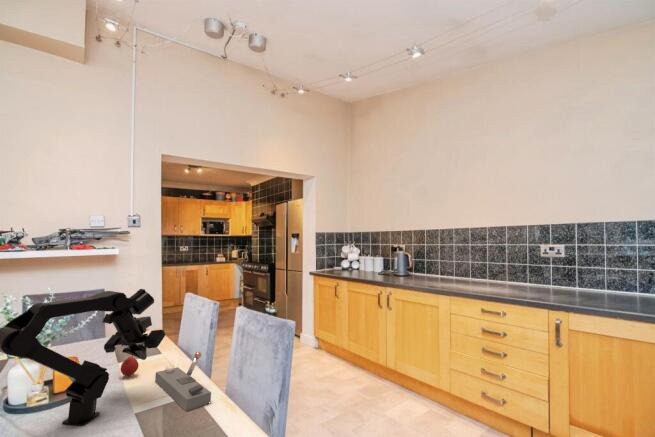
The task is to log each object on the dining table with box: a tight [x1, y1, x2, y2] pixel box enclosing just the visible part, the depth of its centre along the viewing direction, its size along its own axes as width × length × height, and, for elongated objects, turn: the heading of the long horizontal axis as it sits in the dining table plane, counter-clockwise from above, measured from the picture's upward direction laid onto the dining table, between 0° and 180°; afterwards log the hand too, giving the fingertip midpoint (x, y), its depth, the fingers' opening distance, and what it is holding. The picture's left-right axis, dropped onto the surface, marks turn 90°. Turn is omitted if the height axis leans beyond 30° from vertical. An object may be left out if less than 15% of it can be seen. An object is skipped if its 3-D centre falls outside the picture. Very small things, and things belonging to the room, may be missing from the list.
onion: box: [120, 354, 139, 378], centre depth 125 cm, size 6×6×8 cm
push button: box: [164, 364, 175, 373], centre depth 123 cm, size 3×3×2 cm
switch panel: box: [154, 366, 212, 412], centre depth 115 cm, size 8×28×4 cm, turn 46°
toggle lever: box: [186, 351, 202, 377], centre depth 118 cm, size 2×2×8 cm
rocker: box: [189, 383, 204, 395], centre depth 107 cm, size 4×2×1 cm, turn 136°
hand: (144, 358), depth 113 cm, fingers closed
